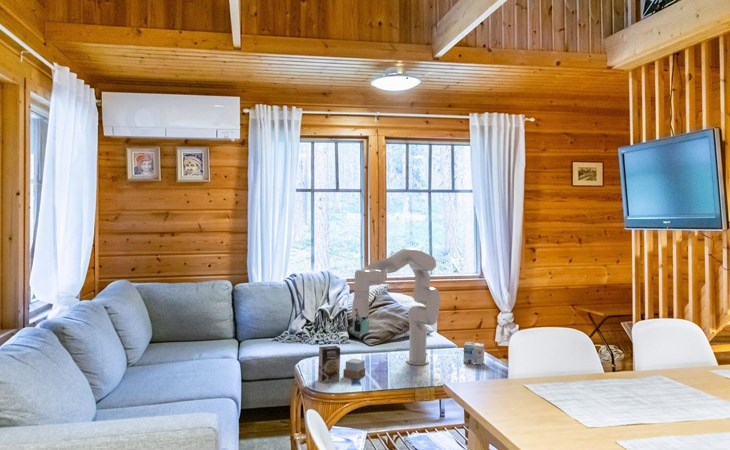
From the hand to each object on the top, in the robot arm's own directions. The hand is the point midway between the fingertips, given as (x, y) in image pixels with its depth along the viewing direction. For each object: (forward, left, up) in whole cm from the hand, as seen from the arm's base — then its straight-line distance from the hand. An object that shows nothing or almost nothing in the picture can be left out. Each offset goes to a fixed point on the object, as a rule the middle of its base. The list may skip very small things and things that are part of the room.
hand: (360, 330), depth 245 cm
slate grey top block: (+1, -2, -19) cm, 19 cm away
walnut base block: (+1, -2, -23) cm, 23 cm away
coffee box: (+14, -9, -23) cm, 29 cm away
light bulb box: (-58, +41, -23) cm, 75 cm away
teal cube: (0, 0, -1) cm, 1 cm away
